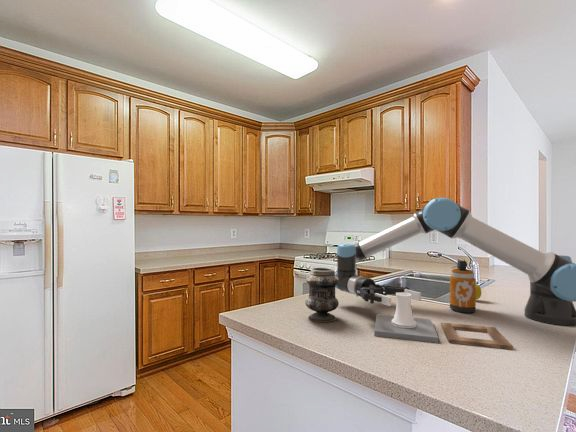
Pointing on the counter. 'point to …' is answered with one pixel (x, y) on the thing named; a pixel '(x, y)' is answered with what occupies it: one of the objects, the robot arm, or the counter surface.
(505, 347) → the holder frame
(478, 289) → the lemon
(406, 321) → the vase
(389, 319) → the slate board
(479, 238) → the robot arm
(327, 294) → the apothecary jar
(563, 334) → the counter surface
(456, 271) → the canister
